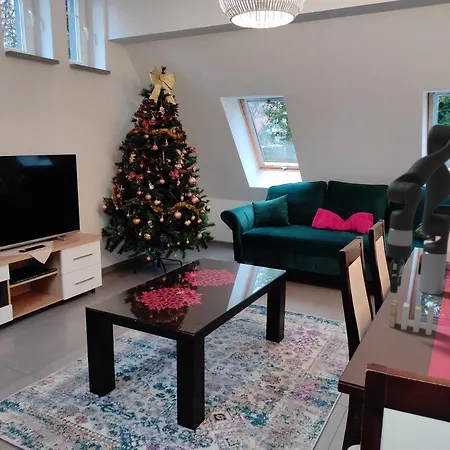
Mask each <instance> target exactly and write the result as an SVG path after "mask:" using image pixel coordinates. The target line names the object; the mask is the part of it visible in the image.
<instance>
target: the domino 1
mask: <svg viewBox="0 0 450 450" xmlns="http://www.w3.org/2000/svg"><path fill="white" fill-rule="evenodd" d="M398 304H399V300H395V299H393V300H392V302H391V303H390V308H389V309H390V312H389V319H388V320H389V321H388V327H389V328H395V326H396V324H397V317H398V315H397V314H398V306H399V305H398Z"/></svg>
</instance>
